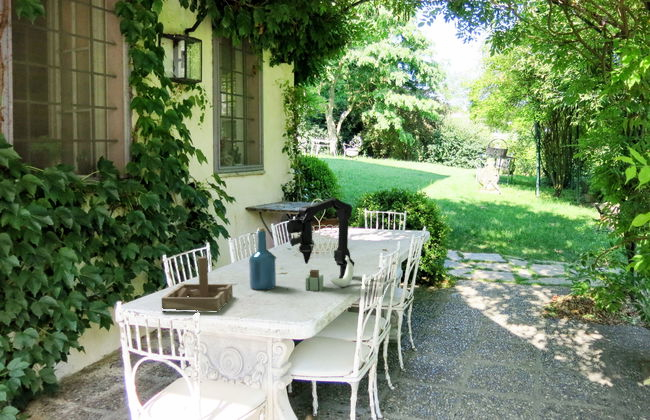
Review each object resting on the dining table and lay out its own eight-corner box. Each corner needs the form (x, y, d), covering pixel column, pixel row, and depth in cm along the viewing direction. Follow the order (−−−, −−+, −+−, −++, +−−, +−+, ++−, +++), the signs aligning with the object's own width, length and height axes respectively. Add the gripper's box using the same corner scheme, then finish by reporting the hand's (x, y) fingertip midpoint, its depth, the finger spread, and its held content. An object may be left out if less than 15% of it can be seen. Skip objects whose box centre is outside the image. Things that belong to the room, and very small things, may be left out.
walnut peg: (319, 287, 287) (318, 269, 286) (318, 289, 283) (318, 271, 282) (311, 287, 287) (310, 269, 286) (310, 289, 283) (309, 271, 282)
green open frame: (307, 286, 289) (307, 274, 289) (323, 286, 289) (323, 274, 288) (305, 290, 281) (305, 278, 281) (322, 290, 281) (321, 278, 280)
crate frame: (182, 296, 273) (182, 283, 272) (232, 296, 271) (232, 284, 270) (162, 311, 246) (161, 298, 245) (217, 312, 244) (216, 298, 243)
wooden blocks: (169, 305, 257) (167, 261, 256) (207, 297, 271) (205, 255, 269) (190, 312, 245) (187, 266, 243) (228, 303, 259) (226, 259, 257)
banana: (330, 290, 281) (330, 260, 280) (347, 282, 298) (346, 254, 297) (339, 291, 279) (339, 261, 278) (355, 283, 296) (355, 254, 294)
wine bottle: (251, 291, 281) (250, 230, 278) (248, 285, 294) (246, 227, 291) (279, 289, 285) (278, 229, 282) (274, 283, 297) (273, 225, 294)
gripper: (292, 229, 301) (293, 258, 302) (288, 234, 282) (289, 265, 284) (313, 228, 300) (314, 258, 302) (311, 234, 282) (311, 265, 283)
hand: (307, 261), depth 293 cm, fingers open, 9 cm apart
